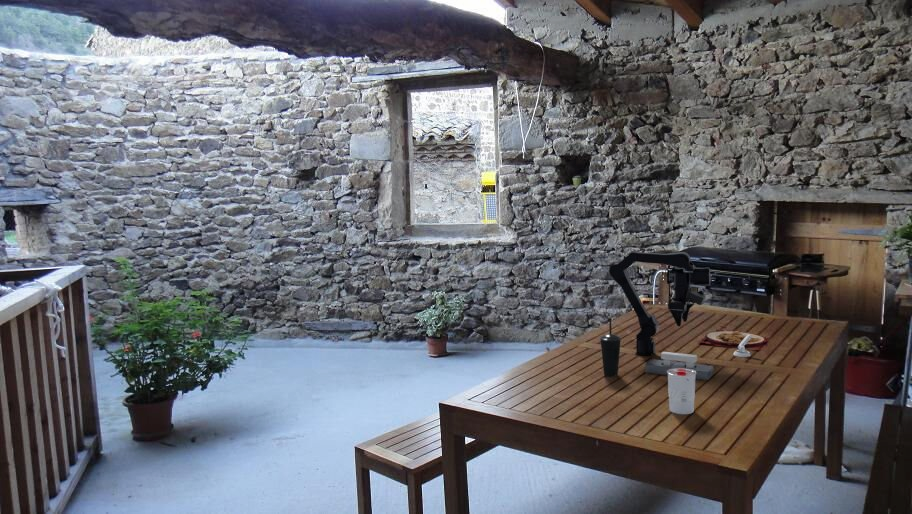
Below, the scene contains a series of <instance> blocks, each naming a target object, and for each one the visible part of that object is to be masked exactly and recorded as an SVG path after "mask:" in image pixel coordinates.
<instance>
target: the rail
mask: <svg viewBox="0 0 912 514" xmlns="http://www.w3.org/2000/svg"><path fill="white" fill-rule="evenodd" d="M674 368H684V369H690V370H693V371H695V372H696V377H695V380H702V381H709V380H710V379H711V378H712V376H714V366H713V365H709V364H708V365H706V364H698V363H695V369H694V368H686V362H682V361H672V366H668V365H663V359H655V358H654V359H653V358H652V359H650V360H648V361H647V362H646V363H645V364H644V372H645V374H657V375H662V376H663V375H664V376H668V373H667V370H669V369H674Z"/></svg>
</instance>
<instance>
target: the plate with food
mask: <svg viewBox="0 0 912 514" xmlns="http://www.w3.org/2000/svg"><path fill="white" fill-rule="evenodd" d="M719 327H721V328H722V329H720V330H718V329H716V330H715V331H712V332H707V333H706V334H705V336H704V337H702V338H701V340H700V341H699V340H698V341H697V342H698V343H701V344H705V345H710V346H715V347H716V346H717V347H724V348H726V349H727V348H732V349H738V346H739V344H740V343H741V342H742V341H743V339H744V338H745V337H746V336H747V335H748V334H749V335H750V336H751V338H750V340H749V341H748V342H747V343H746V344H745V345H744V347H745V351H747V348H750V351H759V352H760V351H761V350H762V349H761V347H764V348H765V347H766V346H767V344H766V342H768V343H769V341H770V339H769V337H766V336H765V337H763V336H760V335H758V334H754V333H749V332H742V331H740V330H739V331H738V329H735V330H730V329H729V330H725V329H727V326H723V325H719Z"/></svg>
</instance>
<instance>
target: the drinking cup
mask: <svg viewBox="0 0 912 514" xmlns="http://www.w3.org/2000/svg"><path fill="white" fill-rule="evenodd" d="M608 325H609V333H606V334H604V335H602V336H599V340H600V347H601V349H600V350H601V357H602V367H603V374H604V376H607V377H616V376H618V374H619V364H620V351H621V350H620V349H621V342H622V337H621V336H619V335H618V334H614V333H612V320H611V319H609V324H608Z"/></svg>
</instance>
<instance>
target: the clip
mask: <svg viewBox="0 0 912 514" xmlns="http://www.w3.org/2000/svg"><path fill="white" fill-rule="evenodd" d="M660 360H663V365H668V366H672V362H673V361H674V362H683V363H686V368H694V369H695V364H696V363H697V362H698V355H697V354H689V353H680V352H670V351H662V352H661V353H660Z"/></svg>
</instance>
